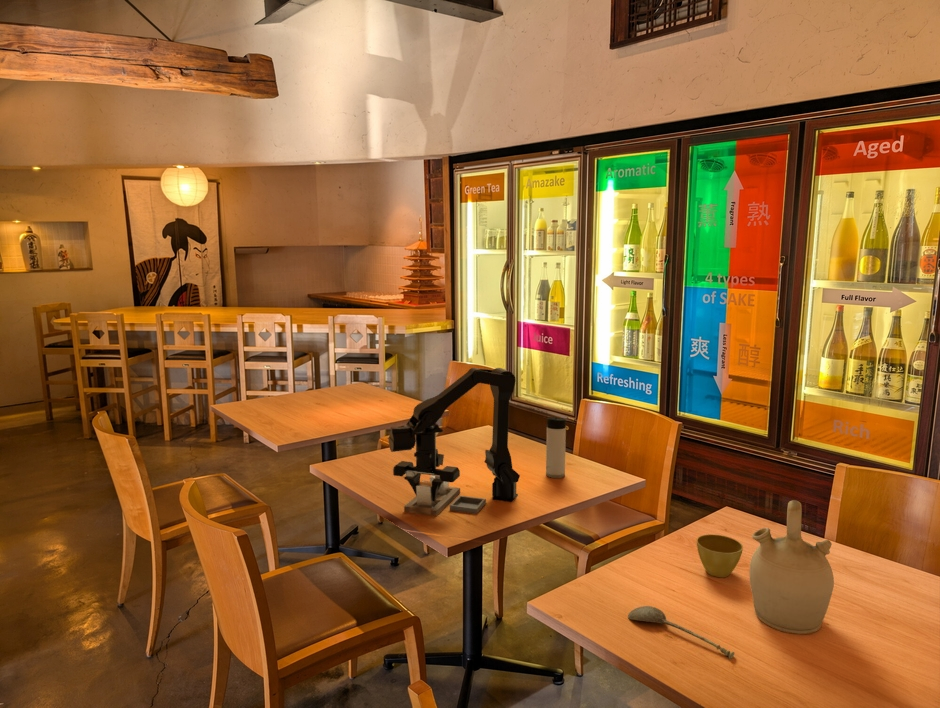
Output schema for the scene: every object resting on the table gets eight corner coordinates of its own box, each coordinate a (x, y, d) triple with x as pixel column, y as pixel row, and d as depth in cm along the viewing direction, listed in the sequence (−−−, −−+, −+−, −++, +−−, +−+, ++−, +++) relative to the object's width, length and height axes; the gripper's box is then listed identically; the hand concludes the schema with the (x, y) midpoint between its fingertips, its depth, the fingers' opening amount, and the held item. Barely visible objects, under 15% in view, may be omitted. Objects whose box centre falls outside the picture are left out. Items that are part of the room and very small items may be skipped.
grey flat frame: (460, 494, 202) (460, 488, 201) (436, 517, 184) (436, 510, 184) (430, 490, 205) (430, 484, 205) (404, 512, 187) (404, 506, 187)
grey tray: (485, 504, 193) (485, 498, 193) (476, 515, 186) (476, 509, 185) (459, 501, 196) (459, 495, 196) (449, 511, 188) (449, 505, 188)
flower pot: (719, 559, 159) (721, 531, 158) (751, 578, 150) (753, 548, 148) (685, 566, 155) (687, 537, 154) (715, 586, 146) (717, 556, 145)
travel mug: (542, 476, 217) (543, 418, 214) (549, 471, 223) (550, 413, 220) (560, 479, 214) (561, 420, 211) (567, 473, 220) (568, 416, 217)
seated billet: (449, 495, 200) (448, 473, 199) (443, 501, 196) (443, 478, 195) (435, 494, 202) (435, 471, 201) (430, 499, 198) (429, 476, 197)
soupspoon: (639, 610, 139) (621, 623, 134) (639, 595, 138) (620, 607, 134) (740, 653, 122) (723, 669, 118) (740, 636, 122) (723, 652, 117)
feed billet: (436, 505, 191) (436, 481, 190) (430, 510, 187) (430, 486, 186) (422, 503, 192) (422, 479, 191) (416, 508, 188) (416, 484, 187)
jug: (733, 618, 133) (741, 501, 129) (764, 590, 144) (772, 482, 140) (814, 650, 122) (825, 524, 119) (840, 618, 133) (851, 501, 129)
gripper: (466, 443, 191) (466, 493, 194) (408, 437, 197) (409, 486, 200) (452, 454, 181) (453, 507, 183) (391, 447, 187) (392, 499, 190)
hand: (426, 499), depth 189 cm, fingers closed on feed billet, 4 cm apart
